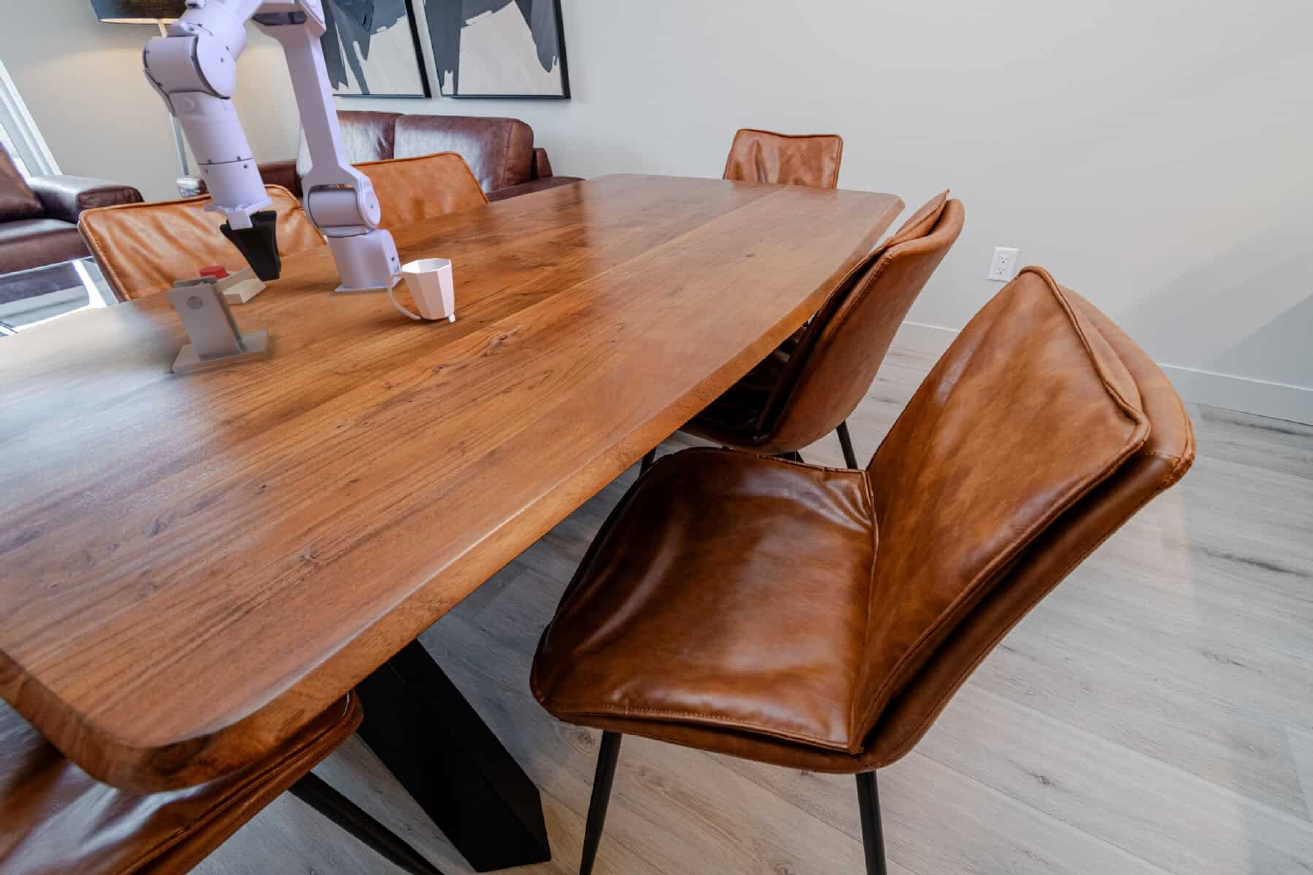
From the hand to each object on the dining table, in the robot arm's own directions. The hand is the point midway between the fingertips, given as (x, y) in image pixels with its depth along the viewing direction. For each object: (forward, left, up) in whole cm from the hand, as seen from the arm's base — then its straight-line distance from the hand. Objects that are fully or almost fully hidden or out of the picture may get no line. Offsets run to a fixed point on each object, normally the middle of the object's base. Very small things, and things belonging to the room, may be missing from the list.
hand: (271, 276), depth 77 cm
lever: (+3, +1, -1) cm, 4 cm away
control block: (+21, -23, -9) cm, 33 cm away
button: (+21, -23, -6) cm, 32 cm away
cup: (-17, -4, -9) cm, 20 cm away
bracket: (+8, +3, -9) cm, 13 cm away
